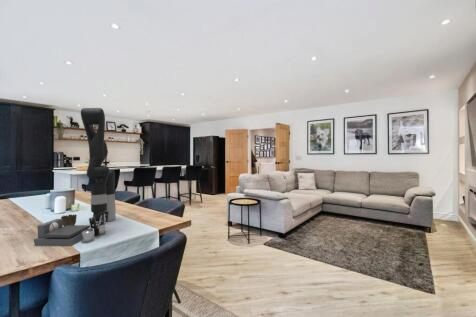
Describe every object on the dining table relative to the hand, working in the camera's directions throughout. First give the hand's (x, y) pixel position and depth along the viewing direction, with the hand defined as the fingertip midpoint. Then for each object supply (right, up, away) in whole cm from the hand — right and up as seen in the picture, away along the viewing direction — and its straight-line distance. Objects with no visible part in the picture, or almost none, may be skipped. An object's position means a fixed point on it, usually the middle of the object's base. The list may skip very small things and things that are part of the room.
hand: (99, 233), depth 129 cm
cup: (-23, -1, +9) cm, 24 cm away
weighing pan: (-12, +3, -8) cm, 14 cm away
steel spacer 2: (0, 0, 0) cm, 0 cm away
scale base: (-13, -1, -8) cm, 15 cm away
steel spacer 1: (0, -1, -10) cm, 10 cm away
